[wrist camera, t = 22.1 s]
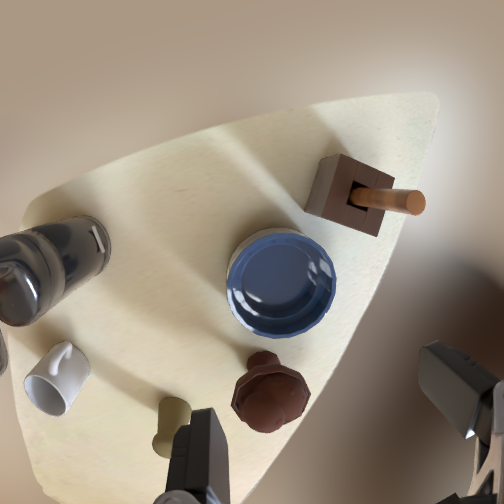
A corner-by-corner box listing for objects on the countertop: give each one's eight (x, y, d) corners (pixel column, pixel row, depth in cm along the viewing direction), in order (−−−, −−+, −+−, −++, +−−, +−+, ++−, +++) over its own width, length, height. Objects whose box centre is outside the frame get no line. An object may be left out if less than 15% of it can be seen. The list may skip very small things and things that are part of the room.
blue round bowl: (215, 307, 45) (214, 324, 39) (243, 214, 42) (246, 218, 36) (303, 329, 47) (313, 347, 41) (335, 243, 44) (351, 251, 38)
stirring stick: (329, 199, 43) (403, 210, 23) (333, 185, 42) (410, 186, 23) (342, 204, 43) (421, 219, 24) (346, 190, 43) (428, 195, 23)
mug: (86, 389, 46) (65, 425, 36) (49, 367, 45) (22, 399, 34) (99, 341, 45) (73, 377, 34) (57, 318, 43) (25, 347, 32)
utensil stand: (304, 211, 43) (321, 217, 35) (320, 159, 42) (340, 153, 34) (352, 228, 44) (377, 237, 36) (368, 178, 43) (395, 177, 35)
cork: (198, 411, 49) (194, 454, 38) (177, 425, 49) (170, 468, 38) (173, 391, 47) (163, 435, 37) (152, 407, 48) (140, 449, 37)
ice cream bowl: (247, 399, 49) (255, 462, 34) (218, 351, 46) (217, 413, 32) (304, 376, 49) (329, 435, 34) (281, 325, 46) (303, 380, 32)
